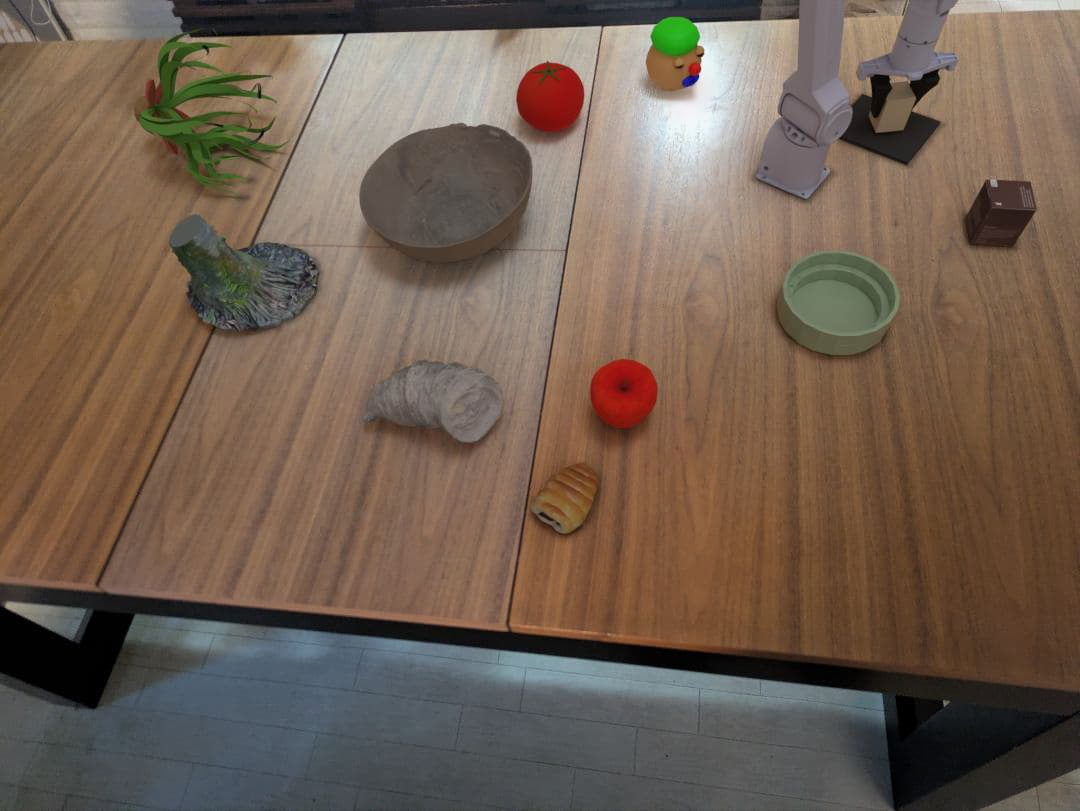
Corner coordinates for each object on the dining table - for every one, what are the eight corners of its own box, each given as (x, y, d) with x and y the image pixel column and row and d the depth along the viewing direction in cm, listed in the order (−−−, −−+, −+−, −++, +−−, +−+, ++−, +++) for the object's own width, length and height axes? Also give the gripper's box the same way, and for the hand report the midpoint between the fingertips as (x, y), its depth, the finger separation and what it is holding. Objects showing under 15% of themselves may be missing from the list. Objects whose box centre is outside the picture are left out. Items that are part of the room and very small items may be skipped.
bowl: (565, 187, 120) (560, 138, 111) (492, 307, 108) (481, 262, 100) (426, 154, 128) (412, 106, 120) (345, 261, 116) (323, 216, 108)
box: (1013, 248, 104) (1038, 210, 98) (968, 245, 105) (990, 208, 99) (1007, 218, 107) (1031, 180, 101) (964, 215, 108) (985, 178, 102)
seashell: (363, 425, 99) (338, 387, 91) (434, 356, 104) (418, 314, 96) (443, 489, 93) (425, 454, 84) (516, 412, 98) (506, 372, 89)
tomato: (596, 111, 130) (594, 57, 121) (561, 151, 125) (556, 99, 116) (544, 95, 134) (539, 42, 125) (509, 133, 129) (500, 81, 120)
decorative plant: (193, 140, 146) (326, 139, 140) (122, 205, 129) (270, 208, 123) (127, 2, 127) (277, -5, 121) (35, 58, 111) (204, 53, 105)
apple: (636, 452, 93) (637, 423, 86) (578, 424, 96) (575, 394, 89) (667, 401, 96) (670, 369, 90) (610, 376, 99) (610, 343, 93)
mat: (827, 134, 120) (828, 131, 120) (861, 96, 124) (862, 93, 124) (906, 165, 115) (908, 162, 114) (939, 124, 119) (941, 121, 118)
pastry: (568, 458, 93) (566, 445, 90) (612, 483, 91) (611, 471, 88) (527, 514, 90) (524, 503, 87) (571, 542, 87) (570, 531, 84)
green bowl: (756, 323, 102) (762, 301, 97) (809, 258, 107) (817, 234, 103) (855, 375, 96) (866, 354, 91) (907, 304, 101) (919, 280, 97)
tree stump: (318, 329, 110) (238, 260, 95) (212, 361, 115) (120, 301, 100) (324, 240, 118) (252, 163, 103) (226, 273, 124) (144, 205, 108)
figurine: (634, 85, 132) (636, 23, 122) (673, 63, 135) (677, 0, 124) (676, 113, 127) (681, 50, 117) (715, 89, 129) (723, 26, 119)
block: (875, 133, 118) (887, 101, 112) (868, 115, 120) (879, 83, 115) (903, 130, 117) (916, 98, 112) (895, 112, 120) (907, 80, 114)
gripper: (876, 54, 104) (850, 132, 115) (978, 43, 103) (942, 123, 114) (863, 27, 107) (840, 105, 119) (962, 16, 106) (929, 96, 118)
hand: (889, 112), depth 117 cm, fingers closed on block, 4 cm apart
